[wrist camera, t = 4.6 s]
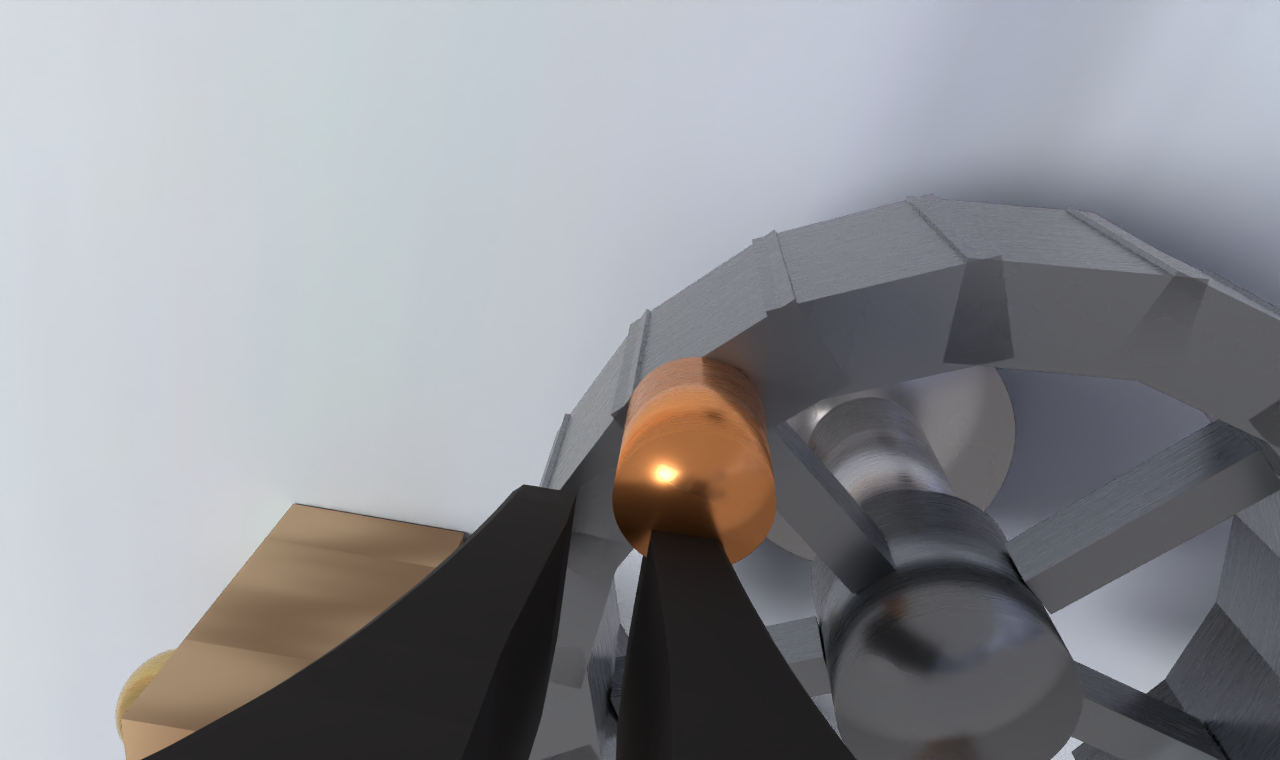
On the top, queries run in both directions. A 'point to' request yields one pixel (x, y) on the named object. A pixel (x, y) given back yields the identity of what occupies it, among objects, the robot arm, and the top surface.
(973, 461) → the axle post
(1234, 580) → the locking wheel
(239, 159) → the top surface
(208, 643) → the block
